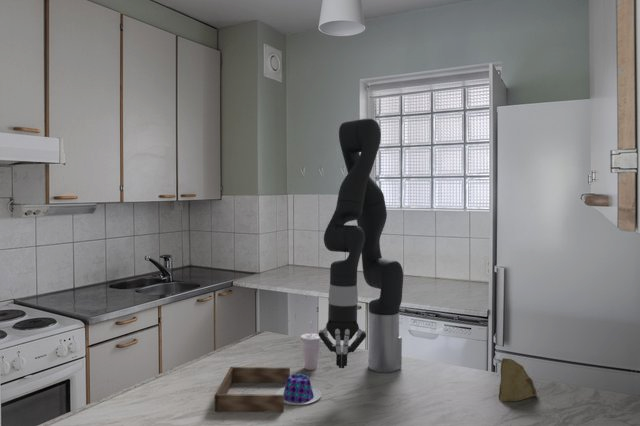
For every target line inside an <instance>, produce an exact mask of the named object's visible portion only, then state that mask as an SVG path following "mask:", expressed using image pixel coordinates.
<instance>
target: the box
mask: <svg viewBox="0 0 640 426" xmlns="http://www.w3.org/2000/svg"><path fill="white" fill-rule="evenodd" d="M290 372H291V367H288V366H287V367H285V366H284V367H282V366H281V367H279V366H277V367H276V366H274V367H273V366H270V367H269V366H268V367H266V366H230V367H229V369H228V371H227V373H226V374H225V376H224V378H223V379H222V382H221V383H220V385H219V387H218V389H217V390H216V393H215V394H214V412H229V413H231V412H232V413H233V412H235V413H236V412H240V413H243V412H244V413H245V412H246V413H249V412H250V413H284V411H285V403H284V400H285V399H284V395H275V394H264V393H262V394H261V393H260V394H259V393H258V394H257V393H255V394H254V393H253V394H251V393H241V394H239V393H228V392H229V391H230V389H231V387H232V385H233V383H286V381H287V379H288V377H289V376H291V375H290V374H291V373H290Z"/></svg>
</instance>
